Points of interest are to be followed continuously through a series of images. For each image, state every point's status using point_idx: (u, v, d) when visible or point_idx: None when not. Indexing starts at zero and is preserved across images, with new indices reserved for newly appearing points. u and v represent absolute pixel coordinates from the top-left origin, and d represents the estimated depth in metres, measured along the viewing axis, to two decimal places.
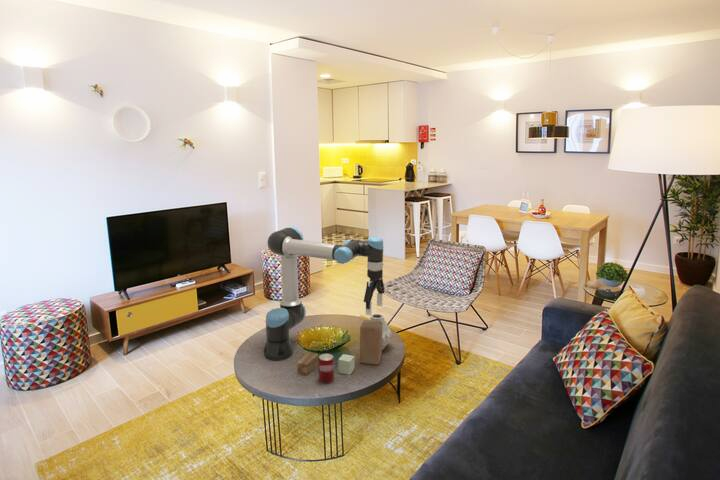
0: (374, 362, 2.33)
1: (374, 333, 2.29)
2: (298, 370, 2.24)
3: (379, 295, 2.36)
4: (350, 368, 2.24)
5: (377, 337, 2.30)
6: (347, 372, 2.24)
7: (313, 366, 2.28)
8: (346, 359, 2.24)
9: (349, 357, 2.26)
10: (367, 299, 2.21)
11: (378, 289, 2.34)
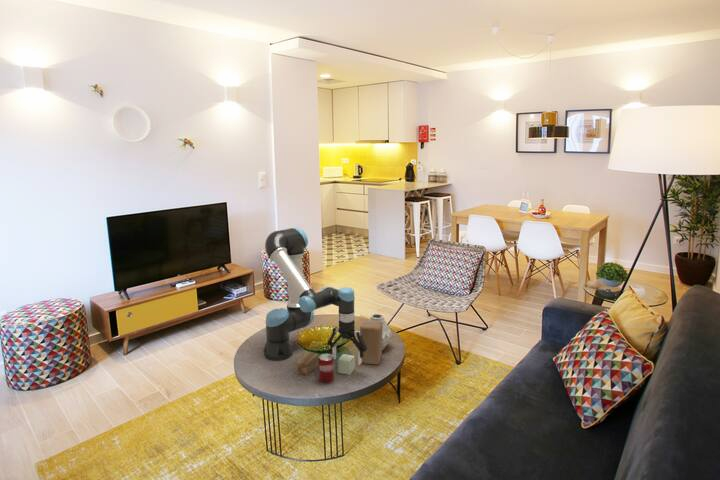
0: (374, 362, 2.33)
1: (374, 333, 2.29)
2: (298, 370, 2.24)
3: None
4: (350, 368, 2.24)
5: (377, 337, 2.30)
6: (347, 372, 2.24)
7: (313, 366, 2.28)
8: (346, 359, 2.24)
9: (349, 357, 2.26)
10: None
11: None
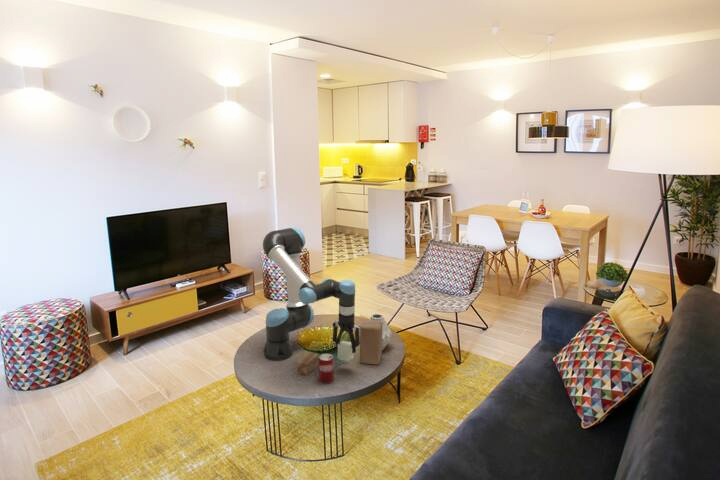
0: (374, 362, 2.33)
1: (374, 333, 2.29)
2: (298, 370, 2.24)
3: None
4: (349, 355, 2.22)
5: (377, 337, 2.30)
6: (346, 359, 2.23)
7: (313, 366, 2.28)
8: (345, 346, 2.23)
9: (348, 344, 2.25)
10: None
11: None
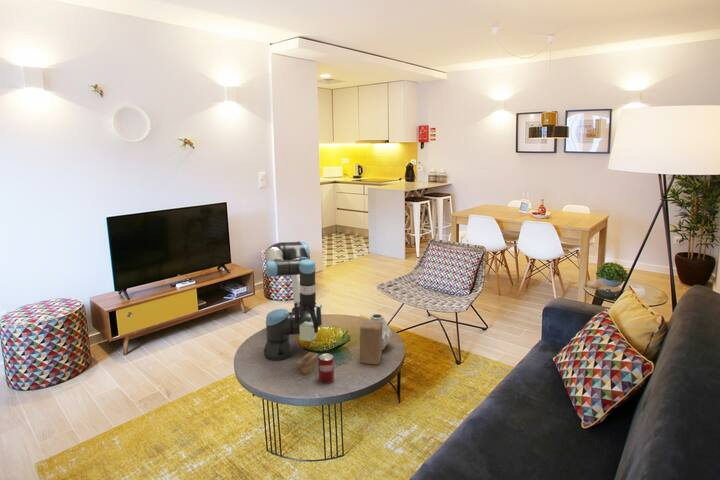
0: (374, 362, 2.33)
1: (374, 333, 2.29)
2: (298, 370, 2.24)
3: None
4: (311, 334, 2.21)
5: (377, 337, 2.30)
6: (308, 339, 2.22)
7: (313, 366, 2.28)
8: (307, 326, 2.22)
9: (311, 324, 2.24)
10: None
11: None
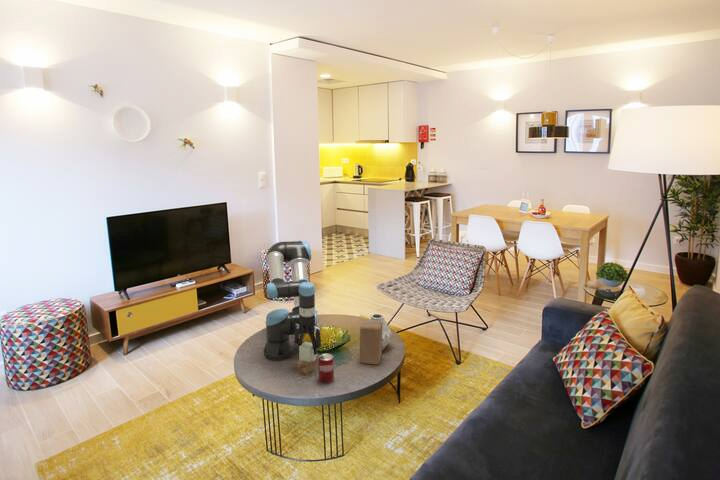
0: (374, 362, 2.33)
1: (374, 333, 2.29)
2: (298, 370, 2.24)
3: None
4: (310, 355, 2.23)
5: (377, 337, 2.30)
6: (308, 359, 2.24)
7: (313, 366, 2.28)
8: (307, 346, 2.24)
9: (310, 345, 2.26)
10: None
11: None
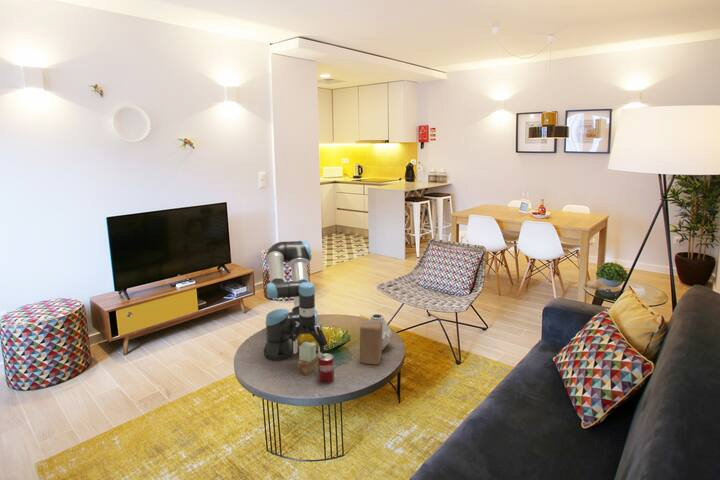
0: (374, 362, 2.33)
1: (374, 333, 2.29)
2: (298, 370, 2.24)
3: None
4: (311, 355, 2.24)
5: (377, 337, 2.30)
6: (308, 359, 2.24)
7: (313, 366, 2.28)
8: (307, 346, 2.24)
9: (310, 344, 2.26)
10: None
11: None
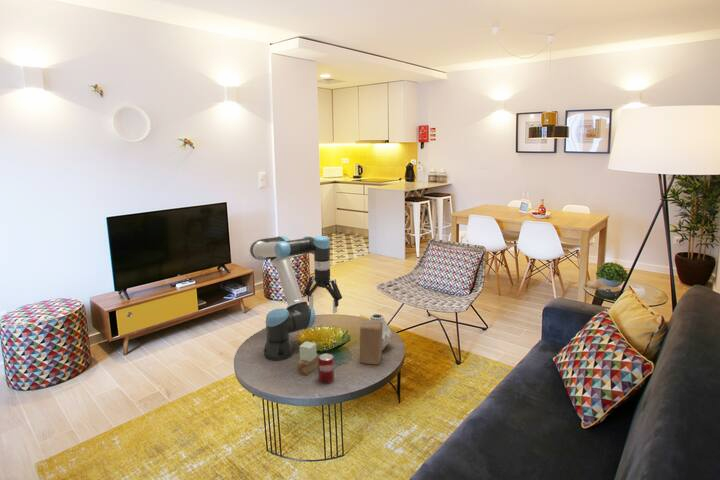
0: (374, 362, 2.33)
1: (374, 333, 2.29)
2: (298, 370, 2.24)
3: None
4: (311, 355, 2.24)
5: (377, 337, 2.30)
6: (308, 359, 2.24)
7: (314, 366, 2.28)
8: (307, 346, 2.24)
9: (310, 344, 2.26)
10: None
11: None
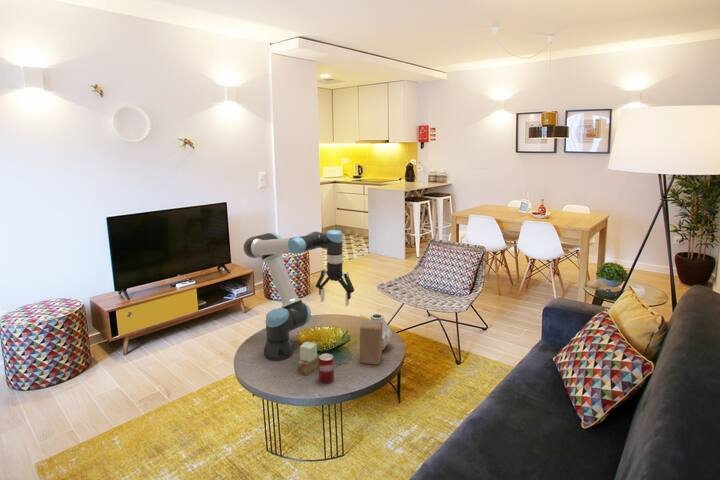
0: (374, 362, 2.33)
1: (374, 333, 2.29)
2: (299, 370, 2.24)
3: None
4: (311, 355, 2.24)
5: (377, 337, 2.30)
6: (308, 359, 2.24)
7: (314, 366, 2.28)
8: (308, 346, 2.24)
9: (311, 344, 2.26)
10: None
11: None
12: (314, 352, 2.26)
